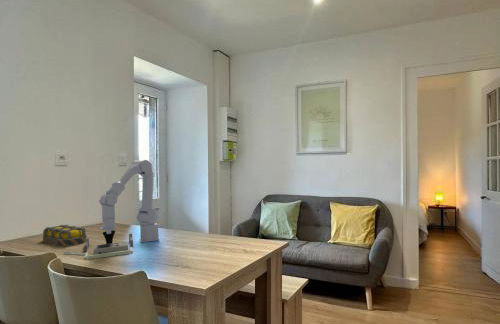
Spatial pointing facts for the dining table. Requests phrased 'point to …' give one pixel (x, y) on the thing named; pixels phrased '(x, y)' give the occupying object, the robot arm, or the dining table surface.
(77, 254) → the stay bar
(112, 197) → the robot arm
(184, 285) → the dining table surface
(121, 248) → the handheld gaming device
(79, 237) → the cage light
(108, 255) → the bay
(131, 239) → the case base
